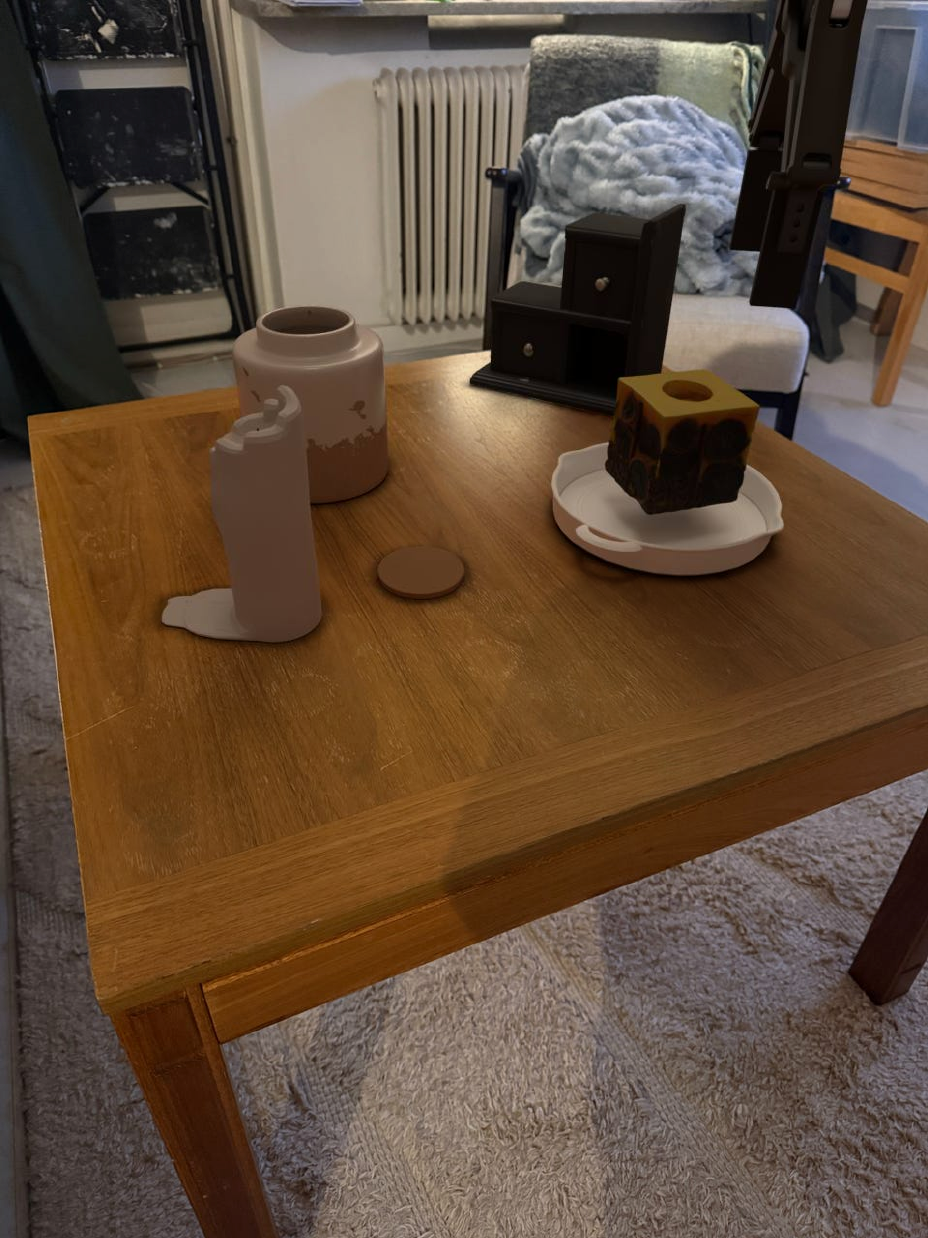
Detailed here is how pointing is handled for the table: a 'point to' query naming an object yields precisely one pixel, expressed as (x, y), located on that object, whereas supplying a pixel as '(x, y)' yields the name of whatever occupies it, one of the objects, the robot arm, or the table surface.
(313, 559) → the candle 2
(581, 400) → the black mini drawer cabinet
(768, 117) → the robot arm
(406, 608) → the table surface
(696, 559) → the pan
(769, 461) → the table surface
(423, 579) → the coaster
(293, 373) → the vase
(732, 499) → the candle
